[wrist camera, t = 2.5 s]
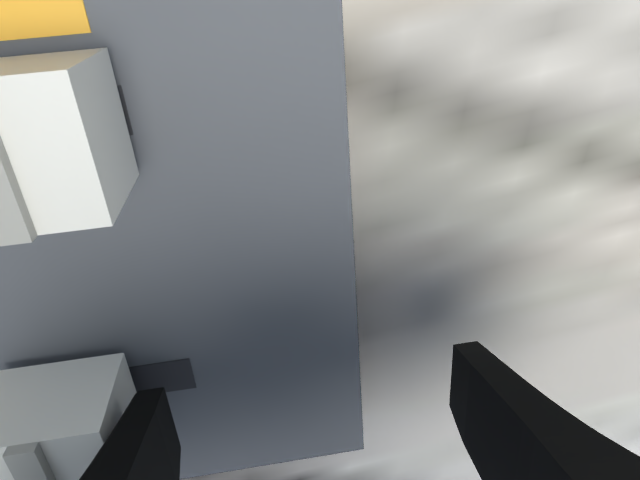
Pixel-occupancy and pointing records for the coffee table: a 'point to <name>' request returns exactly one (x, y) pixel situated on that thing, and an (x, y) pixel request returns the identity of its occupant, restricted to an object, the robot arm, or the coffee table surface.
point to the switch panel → (209, 226)
